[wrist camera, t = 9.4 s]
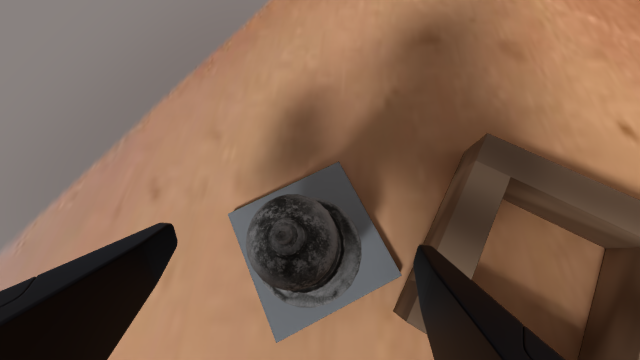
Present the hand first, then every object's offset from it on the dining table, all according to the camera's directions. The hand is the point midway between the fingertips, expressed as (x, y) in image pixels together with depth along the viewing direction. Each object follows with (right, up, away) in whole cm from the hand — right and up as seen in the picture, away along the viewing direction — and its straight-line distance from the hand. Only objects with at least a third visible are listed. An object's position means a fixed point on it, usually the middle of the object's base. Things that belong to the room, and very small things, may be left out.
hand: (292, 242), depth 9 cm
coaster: (0, -2, +9) cm, 9 cm away
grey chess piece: (0, -3, +8) cm, 9 cm away
